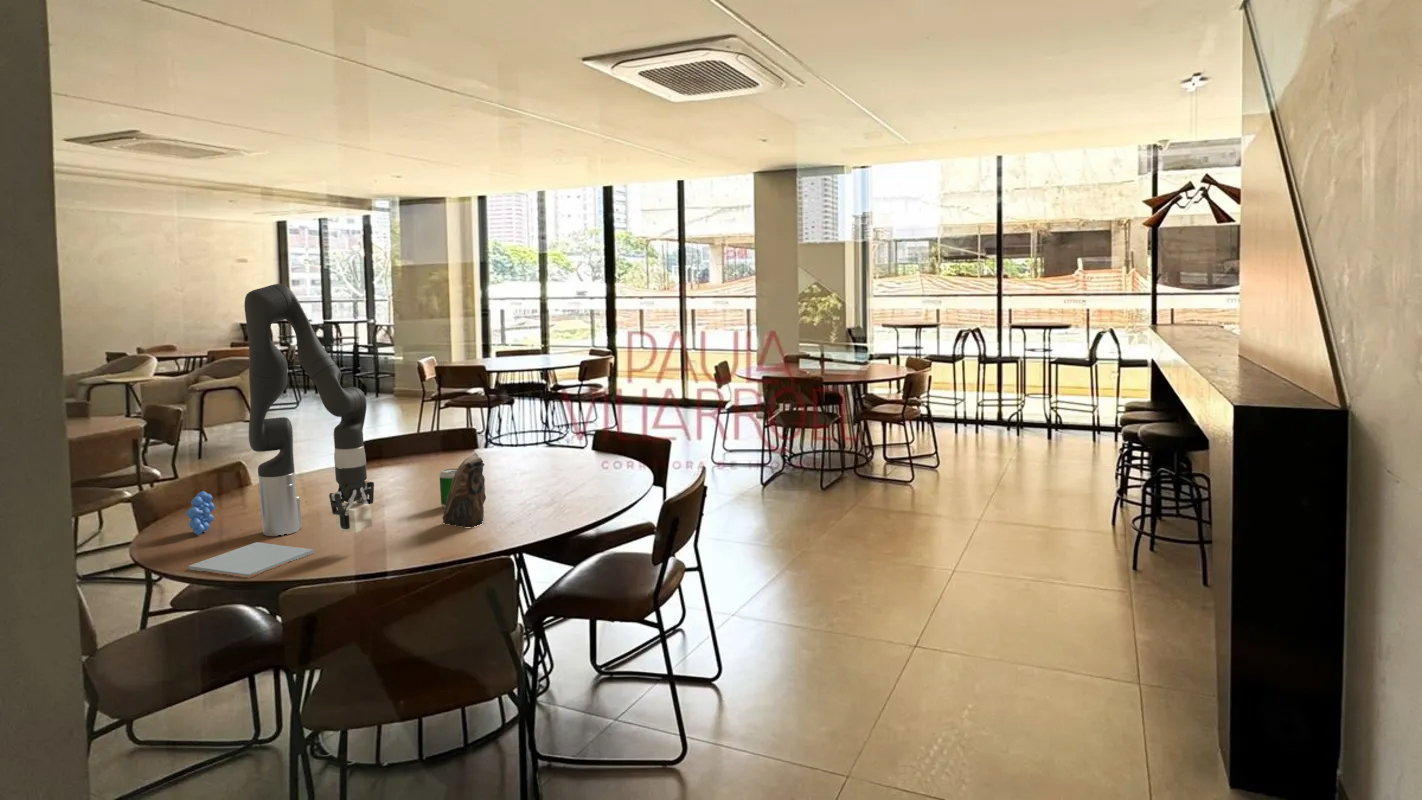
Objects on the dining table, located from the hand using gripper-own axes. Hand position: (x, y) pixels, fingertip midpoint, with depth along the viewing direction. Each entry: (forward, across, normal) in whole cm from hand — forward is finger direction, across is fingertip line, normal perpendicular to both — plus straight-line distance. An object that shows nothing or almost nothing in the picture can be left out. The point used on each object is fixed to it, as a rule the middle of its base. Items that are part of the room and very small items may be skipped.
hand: (354, 524), depth 219 cm
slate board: (+7, +14, -20) cm, 26 cm away
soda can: (+8, -45, -2) cm, 46 cm away
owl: (+8, -32, +12) cm, 35 cm away
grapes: (+8, 0, -56) cm, 56 cm away
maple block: (+1, 0, 0) cm, 1 cm away
